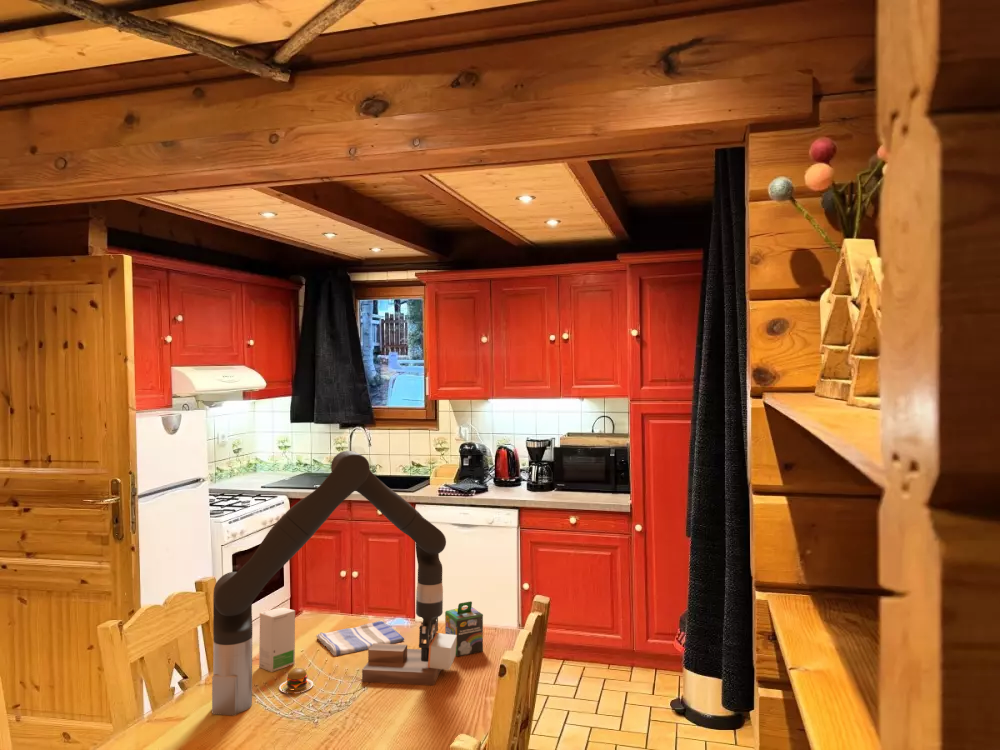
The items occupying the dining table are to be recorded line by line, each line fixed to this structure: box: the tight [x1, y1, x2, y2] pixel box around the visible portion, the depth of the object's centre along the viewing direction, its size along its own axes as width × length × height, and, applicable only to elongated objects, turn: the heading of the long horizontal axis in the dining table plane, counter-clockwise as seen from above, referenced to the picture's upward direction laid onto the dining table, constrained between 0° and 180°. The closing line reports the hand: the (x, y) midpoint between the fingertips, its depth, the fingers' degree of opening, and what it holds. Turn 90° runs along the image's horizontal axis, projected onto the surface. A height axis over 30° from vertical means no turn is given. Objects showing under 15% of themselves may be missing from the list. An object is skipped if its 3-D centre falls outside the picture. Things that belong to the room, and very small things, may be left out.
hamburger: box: [278, 667, 314, 694], centre depth 187 cm, size 12×12×6 cm
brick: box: [428, 632, 457, 671], centre depth 196 cm, size 10×6×6 cm
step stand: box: [361, 643, 442, 686], centre depth 197 cm, size 16×20×7 cm
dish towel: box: [315, 620, 405, 657], centre depth 221 cm, size 17×24×3 cm
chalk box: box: [444, 601, 484, 657], centre depth 214 cm, size 9×9×15 cm
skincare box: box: [258, 607, 296, 673], centre depth 201 cm, size 8×7×16 cm
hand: (428, 655), depth 197 cm, fingers open, 8 cm apart
